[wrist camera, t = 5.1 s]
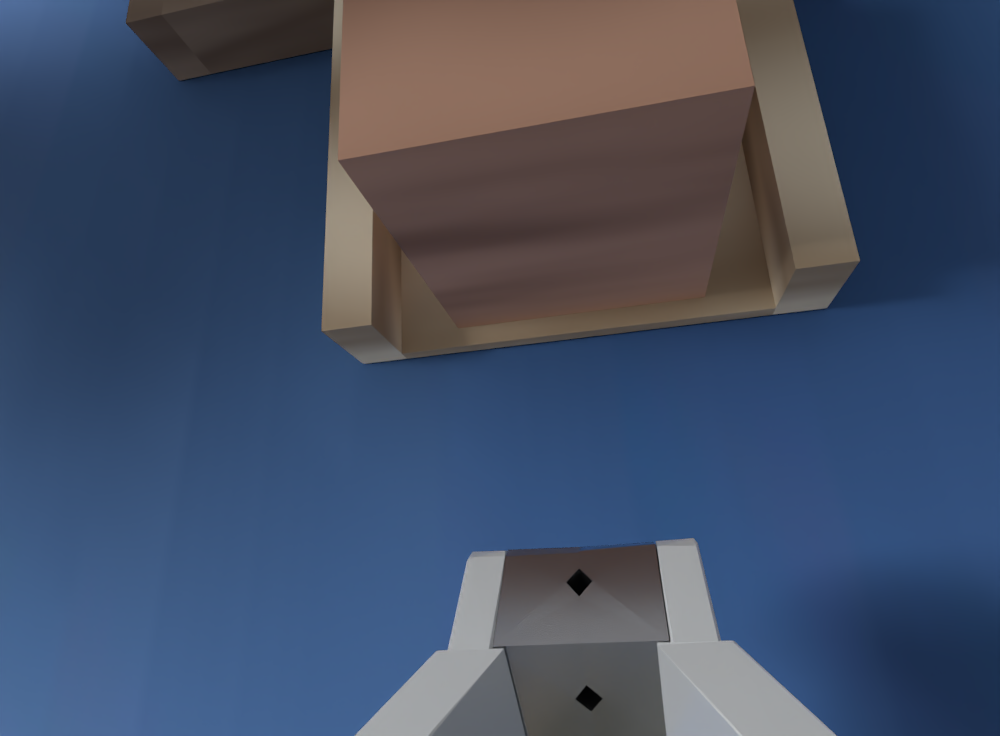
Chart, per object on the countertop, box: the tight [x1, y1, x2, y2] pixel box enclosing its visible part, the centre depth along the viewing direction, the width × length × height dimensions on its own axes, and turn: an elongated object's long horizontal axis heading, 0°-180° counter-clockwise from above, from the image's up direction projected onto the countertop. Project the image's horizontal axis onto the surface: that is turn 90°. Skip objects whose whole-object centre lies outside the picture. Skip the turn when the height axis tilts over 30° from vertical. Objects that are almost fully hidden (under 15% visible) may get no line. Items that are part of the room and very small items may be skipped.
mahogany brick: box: [338, 0, 755, 328], centre depth 14 cm, size 9×6×7 cm, turn 3°
